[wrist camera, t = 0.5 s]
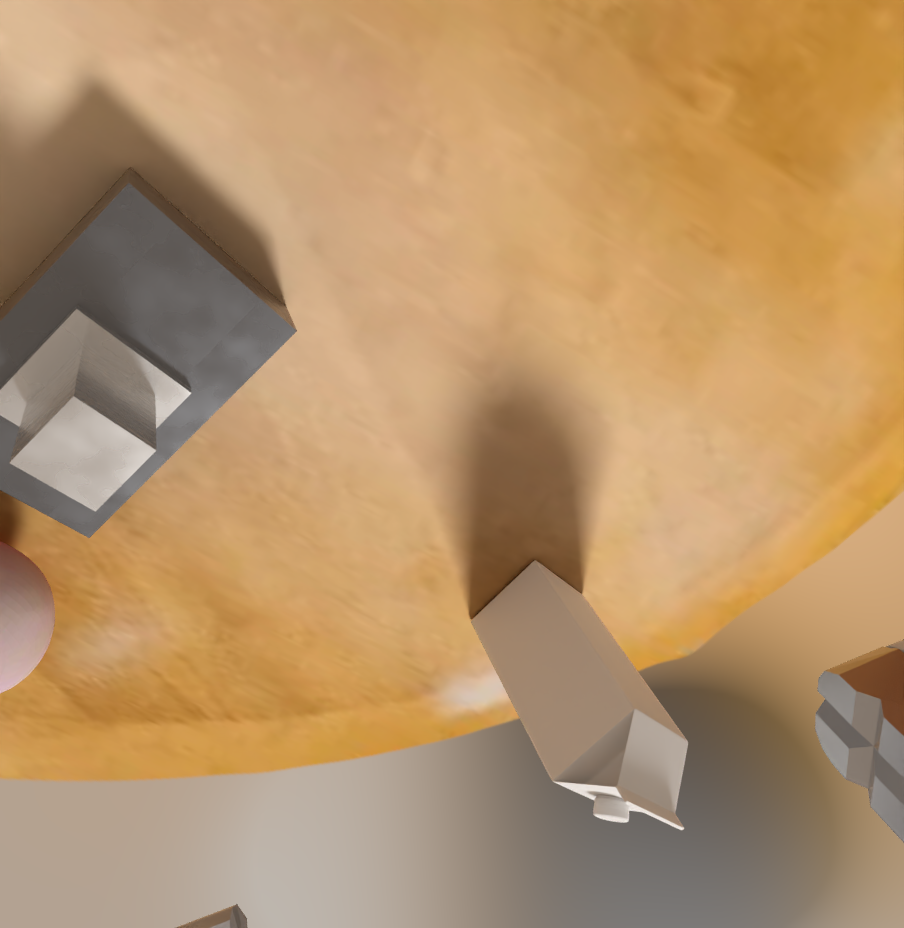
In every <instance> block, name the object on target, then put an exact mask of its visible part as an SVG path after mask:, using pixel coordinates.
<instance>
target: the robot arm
mask: <svg viewBox="0 0 904 928" xmlns="http://www.w3.org/2000/svg"><path fill="white" fill-rule="evenodd" d="M818 692H819V693H820V694H821V695H822V696H823V697H824V698H825V700H824V702H823V703H822V705H821V706H820V708H819V709H818V711H817V712H816V724H815V726H816V727H815V730H816V733H817V736H818V738H819V741H820V744H821V746H822V749H823V751H824V752H825V754H826V755H827V757H828V758H829V760H830V761H831V763H832V764H833V765H834V767H835V768H836V769H837V770H838V771H839V772H840V773H841V774H842V775H843V777H844V778H845V779H846V780H849V781H851V782H854V783H856V784H858V785H861V786H863V787H866V788H868V792H869V798H870V805H871V808H872V809H873V810H874V811H875V812H876V813H877V814H878V815H879V816H880V817H881V818H882V820H883V821H884V822H885V823H886V824H887V825H888V826H889V827H890V828H891V829H892V830H893V832H894V833H895V834H896V835H897V836H898V837H899V838H900V839H901V840H902V841H903V842H904V639H903V640H901V641H898V642H896V643H894V644H891V645H889V646H886V647H881V648H878V649H876V650H874V651H871V652H869V653H866V654H864V655H862V656H859V657H857V658H855V659H852V660H850V661H847V662H845V663H843V664H840V665H838V666H835V667H833V668H830V669H828V670H826V671H824V672H823V673H822V675H821V676H820V677H819V681H818ZM176 928H247V918H246V917H245V915H244V914H243V912H242V911H241V909H240V908H239V906H238V905H237V904H236V905H234V906H231V907H229V908H226V909H223V910H221V911H218V912H216V913H213V914H211V915H208V916H205V917H203V918H200V919H197V920H195V921H192V922H189V923H187V924H184V925H181V926H179V927H176Z"/></svg>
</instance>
